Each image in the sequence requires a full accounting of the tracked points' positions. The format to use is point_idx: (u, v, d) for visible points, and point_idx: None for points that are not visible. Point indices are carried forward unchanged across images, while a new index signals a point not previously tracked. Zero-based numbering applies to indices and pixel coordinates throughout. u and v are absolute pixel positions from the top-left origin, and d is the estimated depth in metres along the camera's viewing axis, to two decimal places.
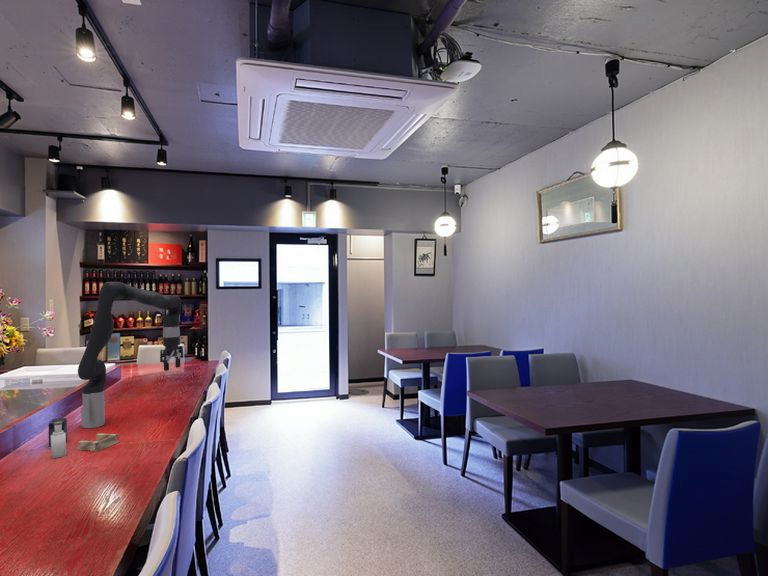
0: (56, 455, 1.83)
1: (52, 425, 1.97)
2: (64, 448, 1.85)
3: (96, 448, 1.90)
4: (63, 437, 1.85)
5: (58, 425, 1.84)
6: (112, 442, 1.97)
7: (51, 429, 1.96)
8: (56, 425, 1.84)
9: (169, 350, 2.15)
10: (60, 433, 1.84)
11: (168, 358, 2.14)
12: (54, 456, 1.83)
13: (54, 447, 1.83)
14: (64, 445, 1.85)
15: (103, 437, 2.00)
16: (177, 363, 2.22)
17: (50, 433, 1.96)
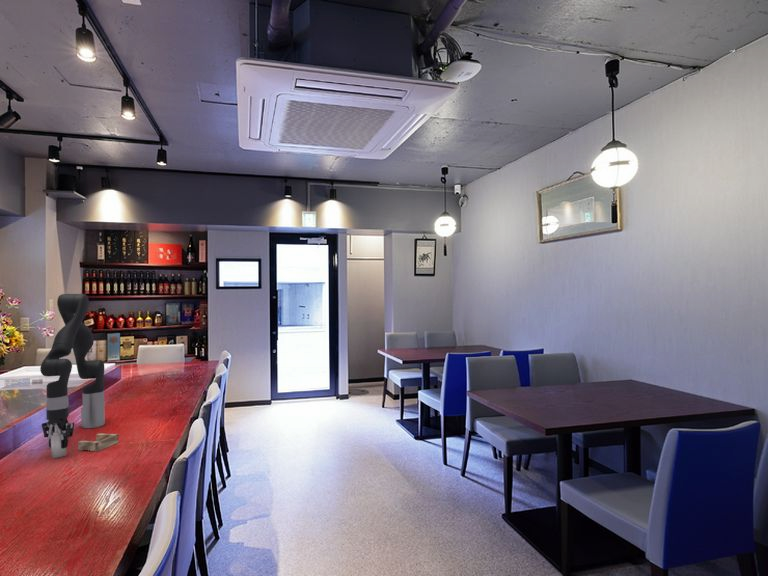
0: (56, 455, 1.83)
1: None
2: (64, 448, 1.85)
3: (96, 448, 1.90)
4: None
5: None
6: (112, 442, 1.97)
7: None
8: None
9: None
10: None
11: None
12: (54, 456, 1.83)
13: (54, 447, 1.83)
14: None
15: (103, 437, 2.00)
16: None
17: None
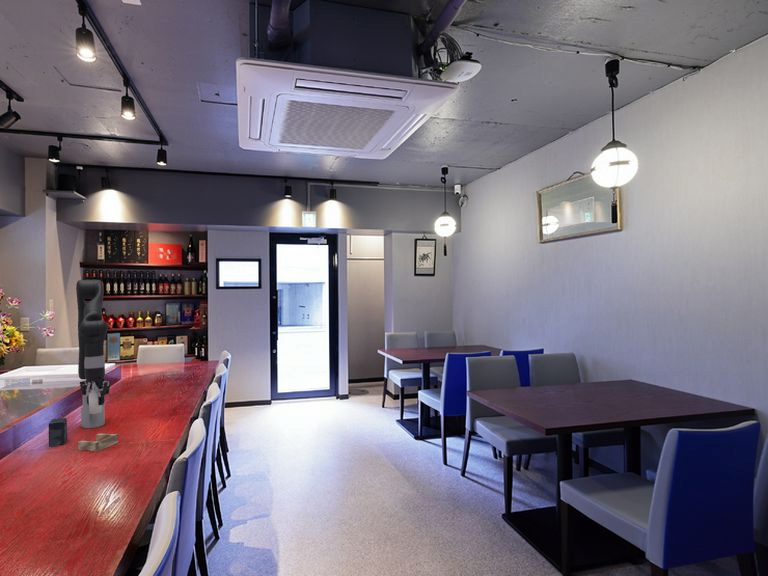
0: (94, 411, 1.93)
1: (52, 425, 1.97)
2: (101, 405, 1.96)
3: (96, 448, 1.90)
4: None
5: None
6: (112, 442, 1.97)
7: (51, 429, 1.96)
8: None
9: None
10: None
11: None
12: (92, 412, 1.93)
13: (92, 404, 1.93)
14: None
15: (103, 437, 2.00)
16: None
17: (50, 433, 1.96)
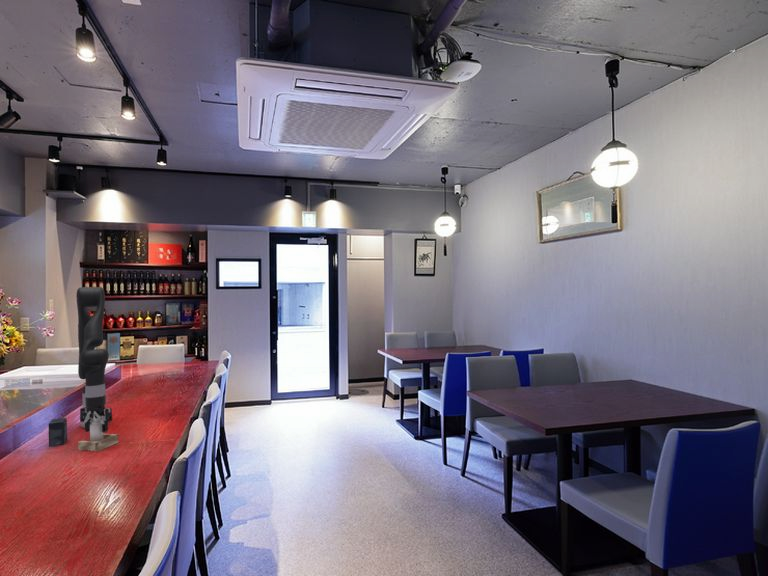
0: None
1: (52, 425, 1.97)
2: (102, 437, 1.96)
3: (96, 448, 1.90)
4: (101, 426, 1.95)
5: None
6: (112, 442, 1.97)
7: (51, 429, 1.96)
8: None
9: None
10: (98, 423, 1.95)
11: None
12: None
13: (93, 436, 1.93)
14: (102, 434, 1.96)
15: None
16: (88, 427, 1.97)
17: (50, 433, 1.96)
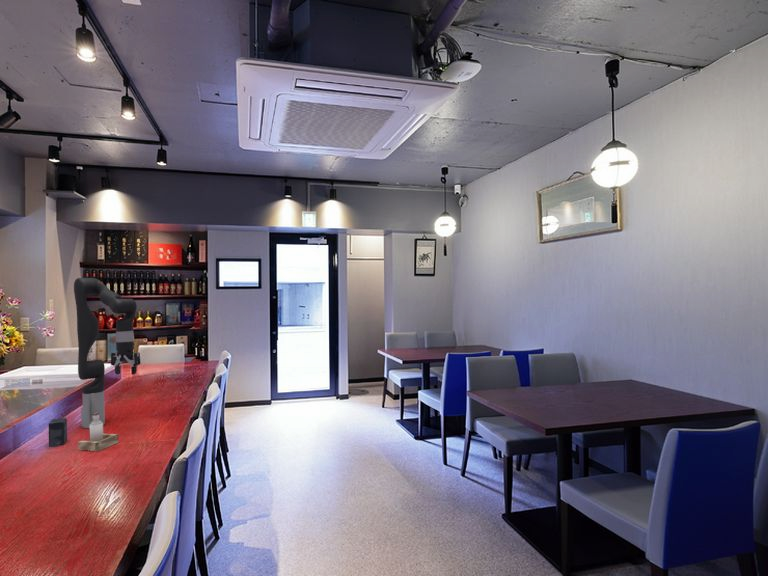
0: None
1: (52, 425, 1.97)
2: (102, 437, 1.96)
3: (96, 448, 1.90)
4: (101, 426, 1.95)
5: (96, 415, 1.95)
6: (112, 442, 1.97)
7: (51, 429, 1.96)
8: (94, 415, 1.94)
9: None
10: (98, 423, 1.95)
11: None
12: None
13: (93, 436, 1.93)
14: (102, 434, 1.96)
15: (103, 437, 2.00)
16: (118, 370, 2.14)
17: (50, 433, 1.96)
